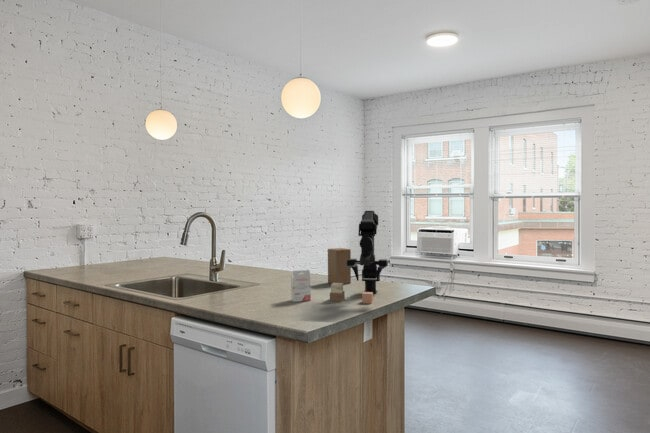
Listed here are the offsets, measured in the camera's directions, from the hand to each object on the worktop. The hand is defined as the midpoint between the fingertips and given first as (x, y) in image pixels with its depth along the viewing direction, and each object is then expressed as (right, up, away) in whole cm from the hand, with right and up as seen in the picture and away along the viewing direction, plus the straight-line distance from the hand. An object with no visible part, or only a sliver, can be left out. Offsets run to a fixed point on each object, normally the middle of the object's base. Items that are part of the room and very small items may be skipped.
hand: (367, 281), depth 217 cm
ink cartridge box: (-32, -10, +6) cm, 34 cm away
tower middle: (-14, -6, +6) cm, 16 cm away
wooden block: (-12, -9, +54) cm, 56 cm away
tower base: (-14, -10, +6) cm, 18 cm away
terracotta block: (0, -10, 0) cm, 10 cm away
